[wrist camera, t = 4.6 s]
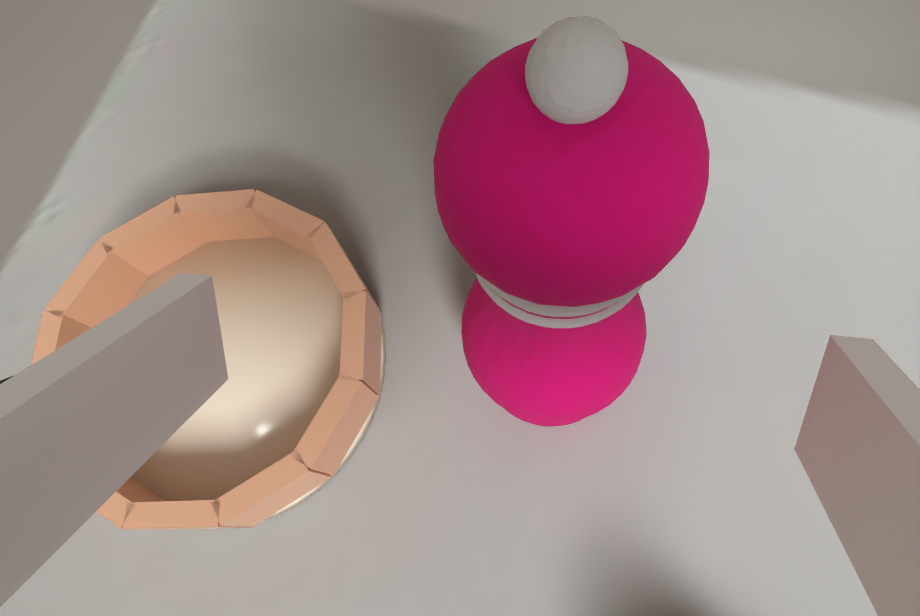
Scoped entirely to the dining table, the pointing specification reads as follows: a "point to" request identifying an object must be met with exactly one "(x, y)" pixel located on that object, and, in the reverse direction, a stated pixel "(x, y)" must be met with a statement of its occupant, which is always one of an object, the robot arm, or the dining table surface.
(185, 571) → the dining table surface
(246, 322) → the terracotta bowl
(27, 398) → the robot arm
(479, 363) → the pepper mill
